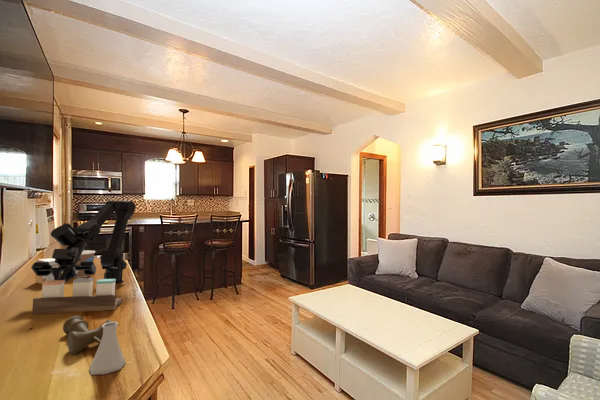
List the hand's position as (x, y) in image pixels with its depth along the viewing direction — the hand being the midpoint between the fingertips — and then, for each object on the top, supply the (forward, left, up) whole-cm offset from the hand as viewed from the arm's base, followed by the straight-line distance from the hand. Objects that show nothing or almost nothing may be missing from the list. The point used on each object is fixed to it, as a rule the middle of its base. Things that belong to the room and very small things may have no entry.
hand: (55, 289), depth 101 cm
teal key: (-12, +11, -5) cm, 17 cm away
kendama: (+2, +36, -7) cm, 37 cm away
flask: (+3, +53, -7) cm, 54 cm away
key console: (-6, +6, -7) cm, 11 cm away
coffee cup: (-21, -44, -7) cm, 49 cm away
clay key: (+1, +1, -5) cm, 5 cm away
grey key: (-7, +4, -5) cm, 9 cm away
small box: (-7, -40, -7) cm, 41 cm away
